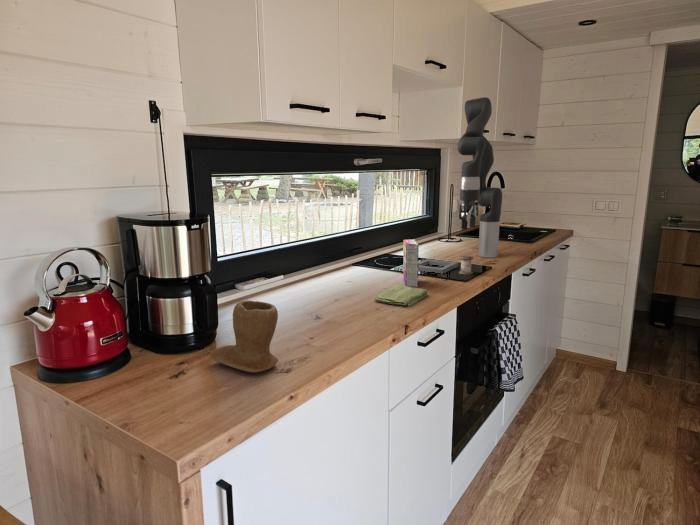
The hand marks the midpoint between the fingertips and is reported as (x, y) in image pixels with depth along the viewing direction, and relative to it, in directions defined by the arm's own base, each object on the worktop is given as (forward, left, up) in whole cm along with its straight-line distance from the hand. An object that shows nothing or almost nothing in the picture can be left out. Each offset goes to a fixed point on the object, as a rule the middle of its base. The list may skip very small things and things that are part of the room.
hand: (468, 228), depth 195 cm
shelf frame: (-2, -15, -19) cm, 24 cm away
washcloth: (+47, -5, -20) cm, 51 cm away
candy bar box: (+27, -12, -19) cm, 35 cm away
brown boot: (+114, -10, -19) cm, 116 cm away
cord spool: (0, 0, -19) cm, 19 cm away
